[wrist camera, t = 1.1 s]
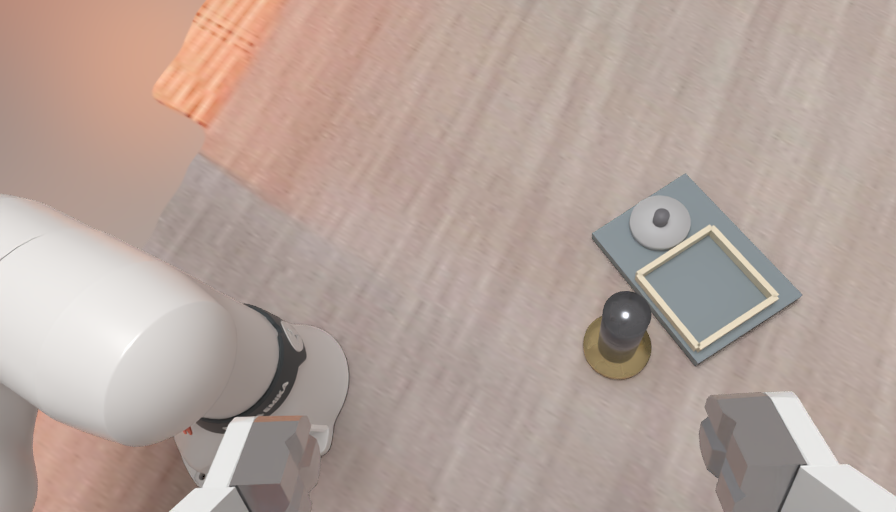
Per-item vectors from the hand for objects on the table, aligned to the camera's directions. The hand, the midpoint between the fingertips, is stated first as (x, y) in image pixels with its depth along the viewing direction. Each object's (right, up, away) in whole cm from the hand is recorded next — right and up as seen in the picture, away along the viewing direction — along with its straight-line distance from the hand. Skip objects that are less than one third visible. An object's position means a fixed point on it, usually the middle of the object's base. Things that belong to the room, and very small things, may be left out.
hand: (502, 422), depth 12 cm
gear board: (+26, +2, +51) cm, 57 cm away
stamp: (+17, -7, +50) cm, 53 cm away
